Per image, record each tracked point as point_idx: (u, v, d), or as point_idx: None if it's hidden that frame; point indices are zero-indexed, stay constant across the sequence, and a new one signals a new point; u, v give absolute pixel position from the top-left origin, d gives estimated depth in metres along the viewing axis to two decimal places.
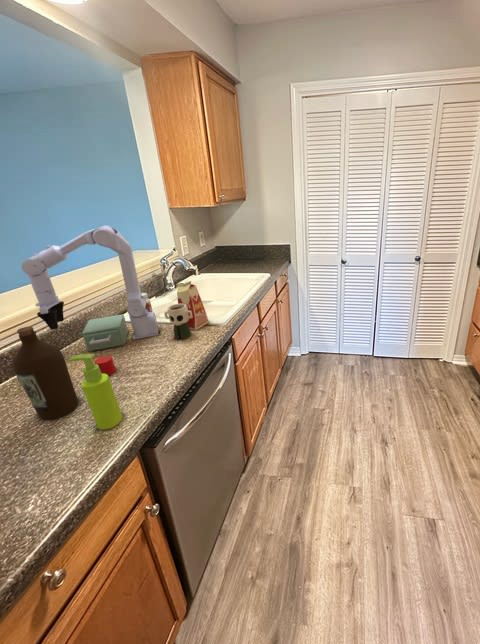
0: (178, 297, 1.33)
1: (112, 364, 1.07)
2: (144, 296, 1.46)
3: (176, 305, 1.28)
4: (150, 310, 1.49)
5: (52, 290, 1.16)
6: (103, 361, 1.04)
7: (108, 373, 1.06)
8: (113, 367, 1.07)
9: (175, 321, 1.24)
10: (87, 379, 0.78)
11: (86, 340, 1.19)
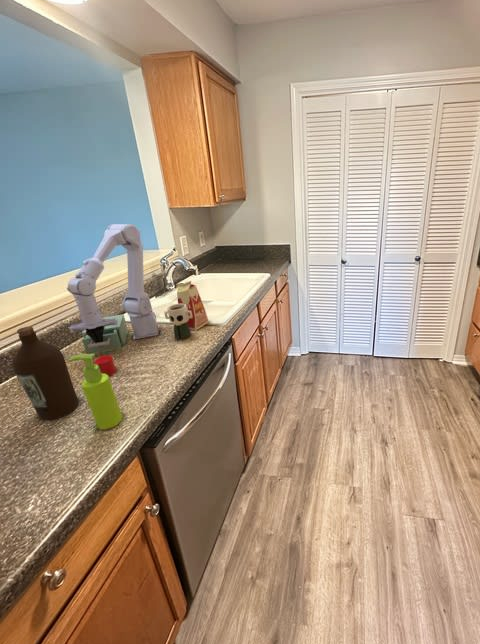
0: (178, 297, 1.33)
1: (112, 364, 1.07)
2: None
3: (176, 305, 1.28)
4: (150, 310, 1.49)
5: None
6: (103, 361, 1.04)
7: (108, 373, 1.06)
8: (113, 367, 1.07)
9: (175, 321, 1.24)
10: (87, 379, 0.78)
11: (84, 343, 1.17)
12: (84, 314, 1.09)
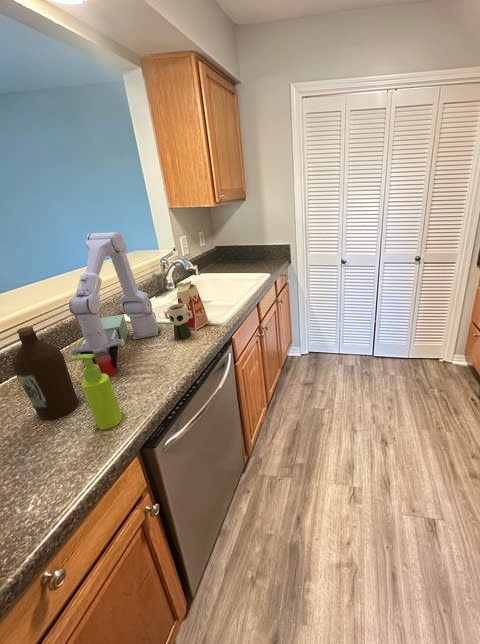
0: (178, 297, 1.33)
1: (112, 364, 1.07)
2: None
3: (176, 305, 1.28)
4: None
5: None
6: (103, 361, 1.04)
7: (108, 373, 1.06)
8: (113, 367, 1.07)
9: (175, 321, 1.24)
10: (87, 379, 0.78)
11: None
12: (88, 336, 0.99)
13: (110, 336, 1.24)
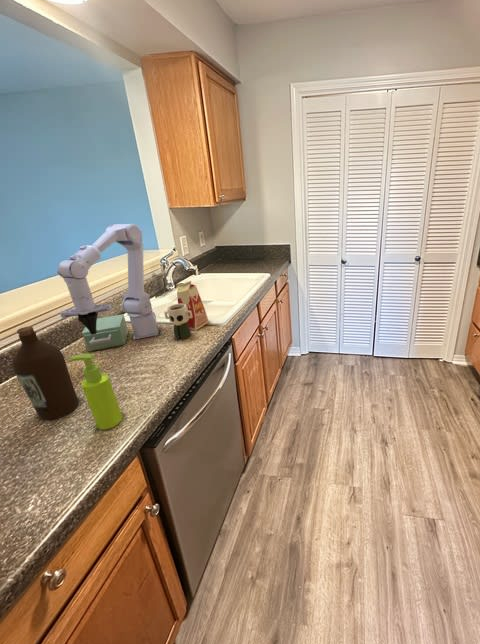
0: (178, 297, 1.33)
1: None
2: None
3: (176, 305, 1.28)
4: None
5: None
6: None
7: None
8: None
9: (175, 321, 1.24)
10: (87, 379, 0.78)
11: (86, 339, 1.20)
12: (76, 299, 1.04)
13: None
